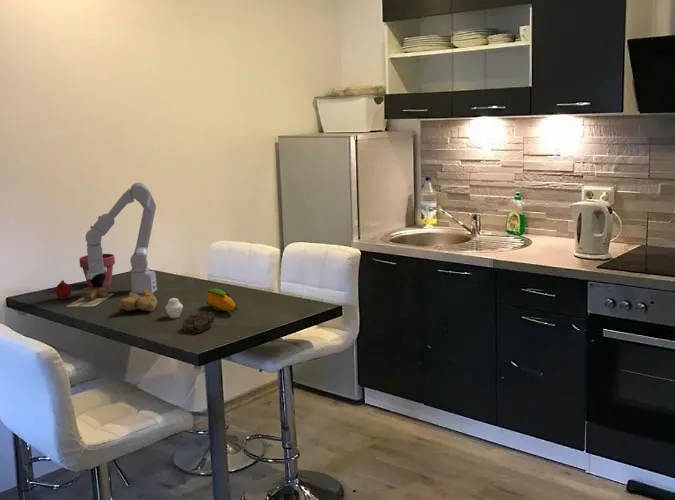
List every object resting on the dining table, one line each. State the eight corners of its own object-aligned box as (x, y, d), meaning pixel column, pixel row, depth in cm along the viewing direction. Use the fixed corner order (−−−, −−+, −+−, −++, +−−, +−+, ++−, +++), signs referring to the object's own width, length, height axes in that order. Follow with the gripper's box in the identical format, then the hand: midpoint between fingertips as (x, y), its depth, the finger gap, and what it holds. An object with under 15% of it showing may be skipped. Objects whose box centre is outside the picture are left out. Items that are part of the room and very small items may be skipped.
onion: (66, 302, 285) (64, 282, 284) (53, 301, 286) (51, 282, 285) (74, 298, 291) (72, 278, 289) (61, 298, 292) (59, 278, 290)
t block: (108, 295, 290) (107, 287, 290) (99, 301, 282) (98, 292, 281) (86, 295, 291) (86, 287, 291) (77, 301, 283) (76, 292, 283)
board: (114, 295, 294) (114, 293, 294) (94, 307, 275) (93, 306, 275) (88, 295, 295) (88, 293, 295) (66, 307, 276) (66, 306, 276)
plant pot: (91, 281, 319) (89, 253, 317) (122, 281, 317) (119, 252, 315) (76, 289, 305) (73, 259, 303) (107, 289, 303) (105, 259, 301)
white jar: (174, 320, 255) (173, 300, 254) (162, 318, 258) (160, 298, 257) (187, 315, 260) (185, 296, 259) (174, 313, 263) (173, 294, 262)
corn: (218, 283, 274) (243, 293, 258) (220, 302, 276) (245, 313, 260) (200, 287, 270) (224, 298, 254) (202, 307, 272) (226, 318, 256)
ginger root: (147, 313, 259) (141, 292, 259) (111, 321, 265) (106, 300, 265) (172, 304, 274) (166, 283, 273) (138, 311, 280) (132, 291, 279)
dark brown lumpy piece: (198, 322, 251) (197, 308, 250) (220, 326, 246) (219, 312, 245) (174, 331, 242) (173, 316, 241) (197, 335, 236) (196, 320, 235)
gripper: (93, 256, 297) (97, 288, 300) (77, 263, 283) (80, 297, 285) (110, 256, 296) (113, 288, 299) (94, 263, 282) (98, 297, 285)
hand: (98, 293), depth 292 cm, fingers closed
